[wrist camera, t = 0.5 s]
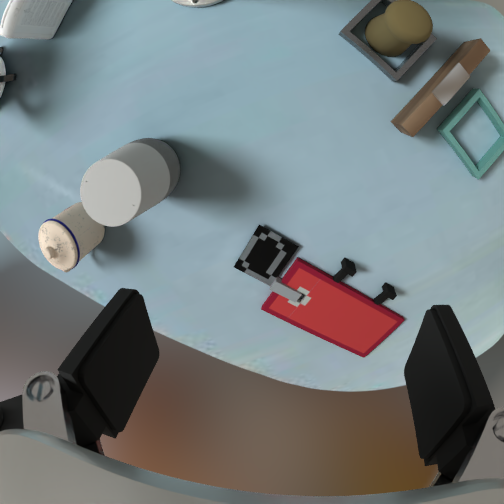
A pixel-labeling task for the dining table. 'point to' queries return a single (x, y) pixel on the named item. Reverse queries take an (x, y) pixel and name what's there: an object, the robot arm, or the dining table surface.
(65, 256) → the teacup with lid
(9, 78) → the coffee press
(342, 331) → the red board with handle
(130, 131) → the dining table surface
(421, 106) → the door edge
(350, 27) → the collar
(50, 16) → the photo printer
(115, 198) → the smart speaker
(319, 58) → the dining table surface
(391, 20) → the cork
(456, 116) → the collar
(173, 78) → the dining table surface
